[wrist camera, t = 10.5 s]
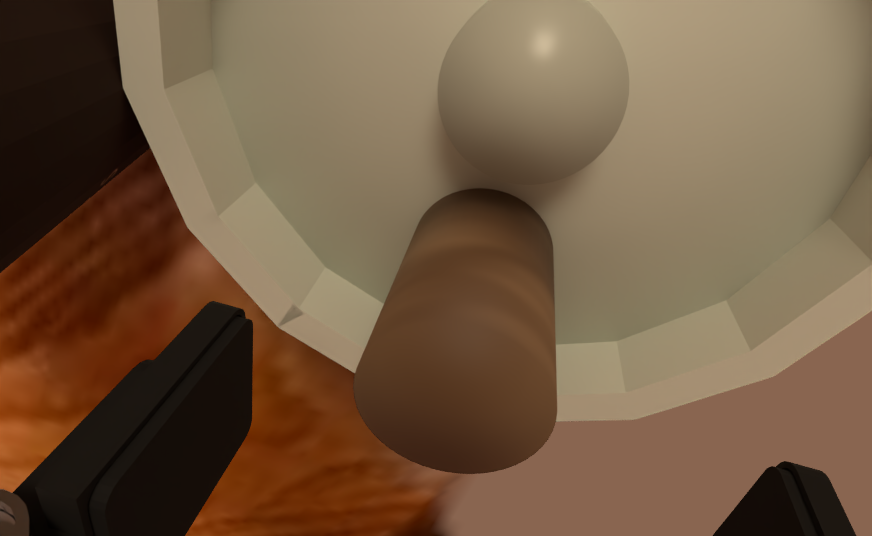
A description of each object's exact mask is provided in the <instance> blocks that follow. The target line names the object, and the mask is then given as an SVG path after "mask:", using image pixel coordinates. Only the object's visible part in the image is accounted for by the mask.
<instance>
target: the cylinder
mask: <svg viewBox="0 0 872 536" xmlns="http://www.w3.org/2000/svg"><path fill="white" fill-rule="evenodd" d="M353 390H354V398H355V402H356V405H357V408H358V411H359V413H360V415H361V417H362V419H363V420H364V422H365V423H366V425H367V426H368V428H369V429H370V430H371V431H372V433H373V434H374V435H375V436H376V437H377V438H378V439H379V440H380V441H381V442H382V443H384V444H385V445H386V446H387V447H389V448H390V449H391V450H393V451H395V452H396V453H398V454H399V455H401V456H403V457H405V458H407V459H408V460H410V461H413V462H415V463H418V464H420V465H422V466H426V467H429V468H432V469H436V470H440V471H445V472H452V473H462V474H477V473H487V472H494V471H498V470H502V469H506V468H509V467H511V466H514V465H516V464H518V463H520V462H522V461H524V460H526V459H528V458H529V457H530V456H532V455H533V454H535V453H536V452H537V451H538V450H539V449H540V448H541V447H542V446H543V445H544V443H545V442H546V441H547V440H548V438H549V436H550V434H551V433H552V431H553V428H554V425H555V422H556V417H557V376H556V337H555V297H554V257H553V243H552V238H551V235H550V232H549V230H548V228H547V226H546V224H545V222H544V221H543V220H542V218H541V217H540V215H539V214H538V213H537V212H536V211H535V210H534V209H533V208H532V207H531V206H529V205H528V204H527V203H526V202H524V201H522V200H521V199H519V198H517V197H515V196H513V195H511V194H509V193H505V192H502V191H499V190H493V189H485V188H475V189H466V190H461V191H458V192H455V193H451V194H449V195H447V196H445V197H443V198H442V199H440V200H439V201H437V202H436V203H434V204H433V205H432V206H431V207H430V208H429V209H428V210H427V211H426V212H425V213H424V215H423V216H422V218H421V219H420V221H419V223H418V225H417V228H416V230H415V232H414V235H413V237H412V239H411V242H410V244H409V246H408V249H407V251H406V253H405V256H404V258H403V260H402V263H401V265H400V268H399V270H398V272H397V275H396V277H395V279H394V282H393V284H392V286H391V289H390V291H389V293H388V296H387V298H386V300H385V303H384V305H383V307H382V310H381V312H380V314H379V317H378V319H377V322H376V324H375V326H374V329H373V331H372V333H371V336H370V338H369V340H368V343H367V345H366V347H365V350H364V352H363V354H362V357H361V359H360V361H359V364H358V366H357V368H356V372H355V376H354V386H353Z"/></svg>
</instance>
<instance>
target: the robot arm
mask: <svg viewBox="0 0 872 536" xmlns="http://www.w3.org/2000/svg"><path fill="white" fill-rule="evenodd" d="M252 365H253V322H252V320H249V319H246V318H245V312H244V310H243V309H240V308H236V307H233V306H229V305H225V304H222V303H218V302H215V301H212V302H209V303H208V304H207V305H206V306H205V307H204V308H203V309H202V310H201V311H200V312H199V313H198V314H197V315H196V316H195V317H194V318H193V319H192V320H191V322H190V323H189V324H188V325H187V326H186V327H185V328H184V329H183V330H182V331H181V332H180V333H179V334H178V335H177V336H176V338H175V339H174V340H173V341H172V342H171V343H170V344H169V345H168V346H167V347H166V348H165V349H164V350H163V351H162V352H161V353H160V355H159V356H158V357H157V358H156V359H155V360H145V361H143V362H140V363H139V364H138V365H137V366H136V367H134V368H133V369H132V370H131V371H130V372H129V373H128V374H127V375H126V376H125V377H124V378H123V379H122V381H121V382H120V383H119V384H118V385H117V386H116V387H115V388H114V389H113V390H112V391H111V392H110V393H109V394H108V395H107V396H106V397H105V398H104V399H103V400H102V401H101V402H100V403H99V404H98V405H97V406H96V407H95V408H94V409H93V410H92V411H91V412H90V414H89V415H88V416H87V417H86V418H85V419H84V420H83V421H82V422H81V423H80V424H79V425H78V426H77V427H76V428H75V429H74V430H73V431H72V432H71V433H70V434H69V435H68V436H67V437H66V438H65V439H64V440H63V441H62V442H61V443H60V444H59V445H58V447H57V448H56V449H55V450H54V451H53V452H52V453H51V454H50V455H49V456H48V457H47V458H46V459H45V460H44V461H43V462H42V463H41V464H40V465H39V466H38V467H37V468H36V469H35V470H34V471H33V472H32V473H31V474H30V475H29V476H28V477H27V479H26V480H25V481H24V482H23V483H22V484H21V485H20V486H19V487H18V488H17V489H16V490H15V491H14V492H13V493H11V492H8V491H6V490H3V489H0V536H185V535H186V533H187V531H188V530H189V528H190V527H191V525H192V523H193V522H194V520H195V518H196V517H197V515H198V514H199V512H200V510H201V509H202V507H203V506H204V504H205V502H206V501H207V499H208V498H209V496H210V494H211V493H212V491H213V489H214V488H215V486H216V485H217V483H218V481H219V480H220V478H221V477H222V475H223V473H224V472H225V470H226V468H227V467H228V465H229V464H230V462H231V460H232V459H233V457H234V456H235V454H236V452H237V451H238V449H239V448H240V446H241V444H242V443H243V441H244V439H245V438H246V436H247V434H248V431H249V429H250V426H251V421H252ZM713 536H856V534H855V532H854V530H853V528H852V526H851V524H850V522H849V520H848V518H847V516H846V513H845V512H844V509H843V507H842V505H841V503H840V501H839V499H838V497H837V494H836V492H835V490H834V488H833V486H832V484H831V482H830V480H829V478H828V477H827V475H826V474H825V473H823V472H822V471H819V470H815V469H812V468H809V467H805V466H801V465H798V464H794V463H791V462H786V461H784V462H781V463H780V464H778V465H777V466H776V467H773V466H772V467H769V468H767V469H766V470H765V472H764V473H763V474H762V475H761V476H760V478H759V479H758V480H757V481H756V483H755V484H754V485H753V486H752V488H751V489H750V490H749V492H747V494H746V495H745V496H744V498H743V499H742V500H741V501H740V503H739V504H738V505H737V506H736V507H735V509H734V510H733V511H732V512H731V514H730V515H729V516H728V517H727V519H726V520H725V521H724V522H723V524H722V525H721V526H720V527H719V528H718V530H717V531H716V532H715V533H714V535H713Z"/></svg>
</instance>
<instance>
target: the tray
mask: <svg viewBox="0 0 872 536" xmlns="http://www.w3.org/2000/svg"><path fill="white" fill-rule="evenodd" d="M113 4H114V13H115V22H116V31H117V40H118V48H119V57H120V66H121V75H122V84H123V89H124V91H125V94H126V96H127V98H128V100H129V102H130V104H131V106H132V109H133V111H134V113H135V115H136V117H137V119H138V122H139V124H140V126H141V128H142V130H143V132H144V135H145V137H146V139H147V141H148V143H149V145H150V148H151V150H152V152H153V154H154V156H155V158H156V161H157V163H158V165H159V167H160V169H161V171H162V174H163V176H164V178H165V180H166V182H167V184H168V187H169V189H170V191H171V193H172V195H173V197H174V200H175V202H176V204H177V206H178V208H179V210H180V213H181V215H182V217H183V219H184V221H185V223H186V225H187V228H188V229H189V230H190V231H191V232H192V233H193V234H194V235H195V236H196V238H197V239H198V240H199V241H200V242H201V243H202V244H203V245H204V246H205V247H206V249H207V250H208V251H209V252H210V253H211V254H212V255H213V256H214V257H215V258H216V260H217V261H218V262H219V263H220V264H221V265H222V266H223V267H224V268H225V269H226V271H227V272H228V273H229V274H230V275H231V276H232V277H233V278H234V279H235V280H236V282H237V283H238V284H239V285H240V286H241V287H242V288H243V289H244V290H245V291H246V293H247V294H248V295H249V296H250V297H251V298H252V299H253V300H254V301H255V303H256V304H257V305H258V306H259V307H260V308H261V309H262V310H263V311H264V312H265V314H266V315H267V316H268V317H269V318H270V319H271V320H272V321H273V322H274V323H275V325H276V326H277V327H278V328H280V329H282V330H283V331H285V332H287V333H288V334H290V335H292V336H293V337H295V338H297V339H298V340H300V341H302V342H303V343H305V344H307V345H308V346H310V347H312V348H313V349H315V350H317V351H318V352H320V353H322V354H323V355H325V356H327V357H328V358H330V359H332V360H333V361H335V362H337V363H338V364H340V365H342V366H343V367H345V368H347V369H348V370H350V371H352V372H353V373H355V372H356V368H357V366H358V364H359V361H360V359H361V357H362V354H363V352H364V350H365V347H366V345H367V343H368V340H369V338H370V336H371V333H372V331H373V329H374V326H375V324H376V322H377V319H378V317H379V314H380V312H381V310H382V307H383V305H384V303H385V300H386V298H387V296H388V293H389V291H390V289H391V286H392V284H393V282H394V279H395V277H396V275H397V272H398V270H399V268H400V265H401V263H402V260H403V258H404V256H405V253H406V251H407V249H408V246H409V244H410V242H411V239H412V237H413V235H414V232H415V230H416V228H417V225H418V223H419V221H420V219H421V218H422V216H423V215H424V213H425V212H426V211H427V210H428V209H429V208H430V207H431V206H432V205H433V204H434V203H436V202H437V201H439V200H440V199H442V198H443V197H445V196H447V195H449V194H451V193H455V192H458V191H461V190H466V189H475V188H485V189H493V190H499V191H502V192H505V193H509V194H511V195H513V196H515V197H517V198H519V199H521V200H522V201H524V202H526V203H527V204H528V205H529V206H531V207H532V208H533V209H534V210H535V211H536V212H537V213H538V214H539V215H540V217H541V218H542V220H543V221H544V222H545V224H546V226H547V228H548V230H549V232H550V235H551V238H552V243H553V257H554V297H555V337H556V376H557V417H556V422H559V421H560V422H561V421H606V420H635V419H639V418H642V417H645V416H649V415H652V414H655V413H658V412H661V411H664V410H668V409H671V408H674V407H677V406H681V405H683V404H687V403H690V402H693V401H697V400H700V399H703V398H706V397H710V396H712V395H716V394H719V393H722V392H726V391H729V390H732V389H735V388H738V387H742V386H745V385H748V384H751V383H754V382H758V381H761V380H764V379H767V378H770V377H774V376H775V375H777V374H778V373H780V372H781V371H783V370H784V369H786V368H787V367H789V366H790V365H791V364H793V363H794V362H796V361H797V360H799V359H800V358H802V357H803V356H805V355H806V354H808V353H809V352H811V351H812V350H814V349H815V348H817V347H818V346H820V345H821V344H823V343H824V342H826V341H827V340H829V339H830V338H832V337H833V336H835V335H836V334H838V333H839V332H841V331H842V330H843V329H845V328H847V327H848V326H850V325H851V324H853V323H854V322H856V321H857V320H859V319H860V318H862V317H863V316H865V315H866V314H867V313H869V312H871V311H872V0H113Z"/></svg>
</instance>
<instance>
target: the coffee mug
mask: <svg viewBox="0 0 872 536" xmlns="http://www.w3.org/2000/svg"><path fill="white" fill-rule="evenodd" d="M149 148H150V145H149V143H148V141H147V139H146V137H145V135H144V132H143V130H142V128H141V126H140V124H139V122H138V119H137V117H136V115H135V113H134V111H133V109H132V106H131V104H130V102H129V100H128V98H127V96H126V94H125V91H124V89H123V84H122V75H121V66H120V57H119V48H118V40H117V31H116V22H115V13H114V4H113V0H0V273H1V272H2V271H3V270H4V269H5V268H7V267H8V266H9V265H10V264H11V263H13V262H14V261H15V260H16V259H17V258H18V257H20V256H21V255H22V254H23V253H24V252H26V251H27V250H28V249H29V248H30V247H32V246H33V245H34V244H35V243H36V242H38V241H39V240H40V239H41V238H42V237H44V236H45V235H46V234H47V233H48V232H50V231H51V230H52V229H53V228H54V227H56V226H57V225H58V224H59V223H60V222H62V221H63V220H64V219H65V218H66V217H68V216H69V215H70V214H71V213H72V212H74V211H75V210H76V209H77V208H78V207H79V206H81V205H82V204H83V203H84V202H85V201H87V200H88V199H89V198H90V197H91V196H93V195H94V194H95V193H96V192H97V191H99V190H100V189H101V188H102V187H103V186H105V185H106V184H107V183H108V182H109V181H111V180H112V179H113V178H114V177H115V176H117V175H118V174H119V173H120V172H121V171H123V170H124V169H125V168H126V167H127V166H129V165H130V164H131V163H132V162H133V161H135V160H136V159H137V158H138V157H139V156H140V155H142V154H143V153H144V152H145V151H146V150H148V149H149Z"/></svg>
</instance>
